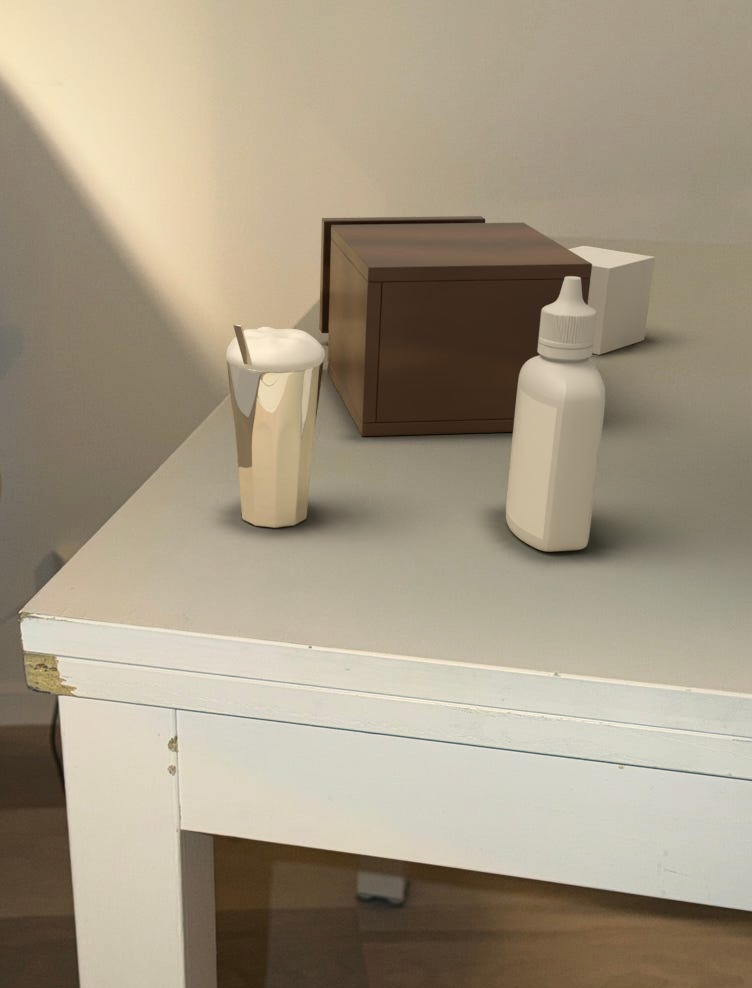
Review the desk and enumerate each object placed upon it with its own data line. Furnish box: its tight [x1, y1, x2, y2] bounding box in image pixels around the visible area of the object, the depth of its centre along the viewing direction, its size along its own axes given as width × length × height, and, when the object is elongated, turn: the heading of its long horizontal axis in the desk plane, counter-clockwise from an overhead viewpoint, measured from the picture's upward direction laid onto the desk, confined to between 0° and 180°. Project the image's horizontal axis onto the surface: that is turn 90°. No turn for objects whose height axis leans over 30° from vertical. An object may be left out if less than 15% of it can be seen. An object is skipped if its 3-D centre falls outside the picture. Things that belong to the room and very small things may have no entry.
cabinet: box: [327, 222, 592, 437], centre depth 80 cm, size 14×13×10 cm
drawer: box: [318, 215, 486, 334], centre depth 90 cm, size 18×11×8 cm, turn 6°
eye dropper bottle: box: [505, 276, 606, 553], centre depth 60 cm, size 4×6×12 cm
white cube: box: [567, 245, 656, 356], centre depth 95 cm, size 6×6×6 cm
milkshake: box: [225, 323, 326, 529], centre depth 62 cm, size 4×5×10 cm
